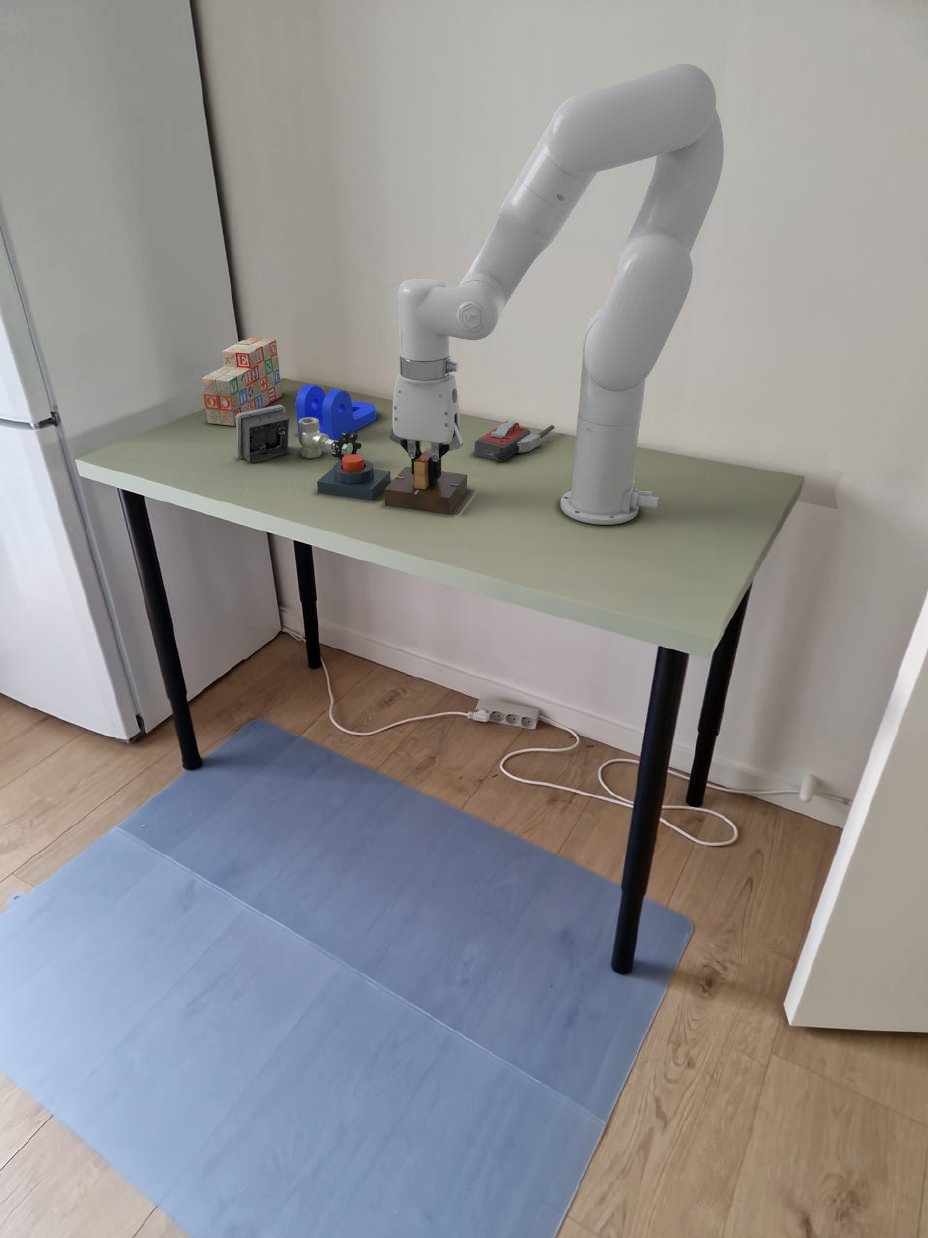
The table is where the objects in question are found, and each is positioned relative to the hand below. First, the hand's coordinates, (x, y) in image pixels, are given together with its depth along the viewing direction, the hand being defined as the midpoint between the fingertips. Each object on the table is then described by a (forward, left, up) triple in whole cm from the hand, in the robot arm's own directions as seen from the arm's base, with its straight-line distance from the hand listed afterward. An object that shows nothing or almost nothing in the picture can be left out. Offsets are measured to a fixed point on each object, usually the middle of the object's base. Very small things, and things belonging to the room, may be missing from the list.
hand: (426, 479), depth 133 cm
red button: (+13, 0, 0) cm, 13 cm away
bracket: (+28, -28, -4) cm, 40 cm away
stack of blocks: (+51, -30, -4) cm, 60 cm away
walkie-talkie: (-8, -28, -4) cm, 29 cm away
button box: (+13, 0, -3) cm, 13 cm away
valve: (+23, -10, -4) cm, 25 cm away
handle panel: (0, 0, -3) cm, 3 cm away
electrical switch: (+34, -8, -4) cm, 35 cm away
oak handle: (0, 0, 0) cm, 0 cm away
